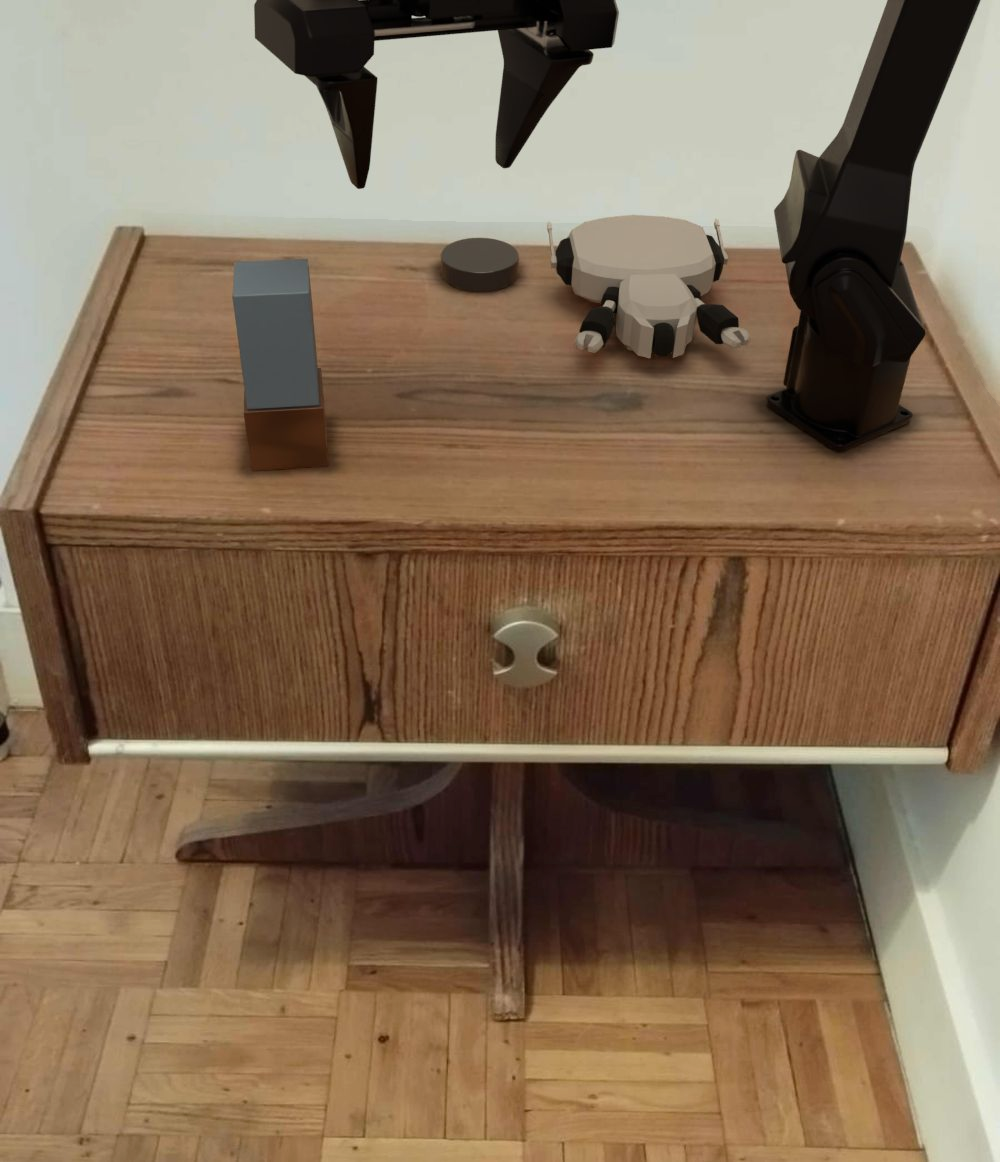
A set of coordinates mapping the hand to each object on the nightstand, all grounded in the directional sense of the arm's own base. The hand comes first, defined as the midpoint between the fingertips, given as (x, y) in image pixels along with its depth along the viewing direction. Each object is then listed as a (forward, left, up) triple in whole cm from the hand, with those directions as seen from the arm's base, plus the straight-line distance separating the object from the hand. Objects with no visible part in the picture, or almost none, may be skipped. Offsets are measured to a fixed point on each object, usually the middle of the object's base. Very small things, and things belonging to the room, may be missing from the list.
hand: (431, 175), depth 72 cm
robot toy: (0, -17, -14) cm, 22 cm away
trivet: (+12, -11, -14) cm, 21 cm away
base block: (-1, +11, -14) cm, 18 cm away
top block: (-1, +11, -10) cm, 15 cm away
